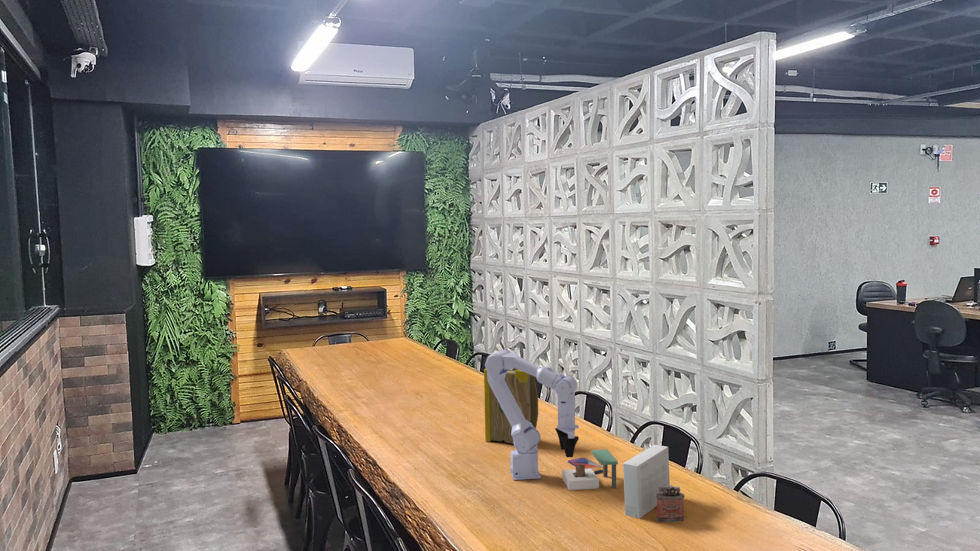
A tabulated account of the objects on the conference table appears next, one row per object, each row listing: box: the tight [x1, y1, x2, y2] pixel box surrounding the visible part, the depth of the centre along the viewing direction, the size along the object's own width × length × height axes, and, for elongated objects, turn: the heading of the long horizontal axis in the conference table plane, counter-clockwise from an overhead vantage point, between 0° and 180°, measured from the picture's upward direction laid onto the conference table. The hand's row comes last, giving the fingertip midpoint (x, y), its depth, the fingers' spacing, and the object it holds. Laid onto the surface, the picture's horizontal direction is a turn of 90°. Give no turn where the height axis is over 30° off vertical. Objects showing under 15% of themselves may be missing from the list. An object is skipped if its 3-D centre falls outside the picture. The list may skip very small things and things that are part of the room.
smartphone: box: [567, 457, 603, 475], centre depth 243 cm, size 7×15×1 cm, turn 26°
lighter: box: [655, 484, 685, 523], centre depth 199 cm, size 8×3×10 cm, turn 92°
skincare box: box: [622, 444, 671, 519], centre depth 209 cm, size 21×5×16 cm, turn 141°
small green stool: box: [591, 449, 619, 489], centre depth 228 cm, size 6×12×9 cm, turn 6°
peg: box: [575, 464, 585, 477], centre depth 227 cm, size 3×3×6 cm
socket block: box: [561, 468, 600, 491], centre depth 227 cm, size 10×10×3 cm
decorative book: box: [483, 367, 539, 445], centre depth 272 cm, size 20×11×30 cm, turn 63°
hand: (566, 453), depth 228 cm, fingers open, 7 cm apart
